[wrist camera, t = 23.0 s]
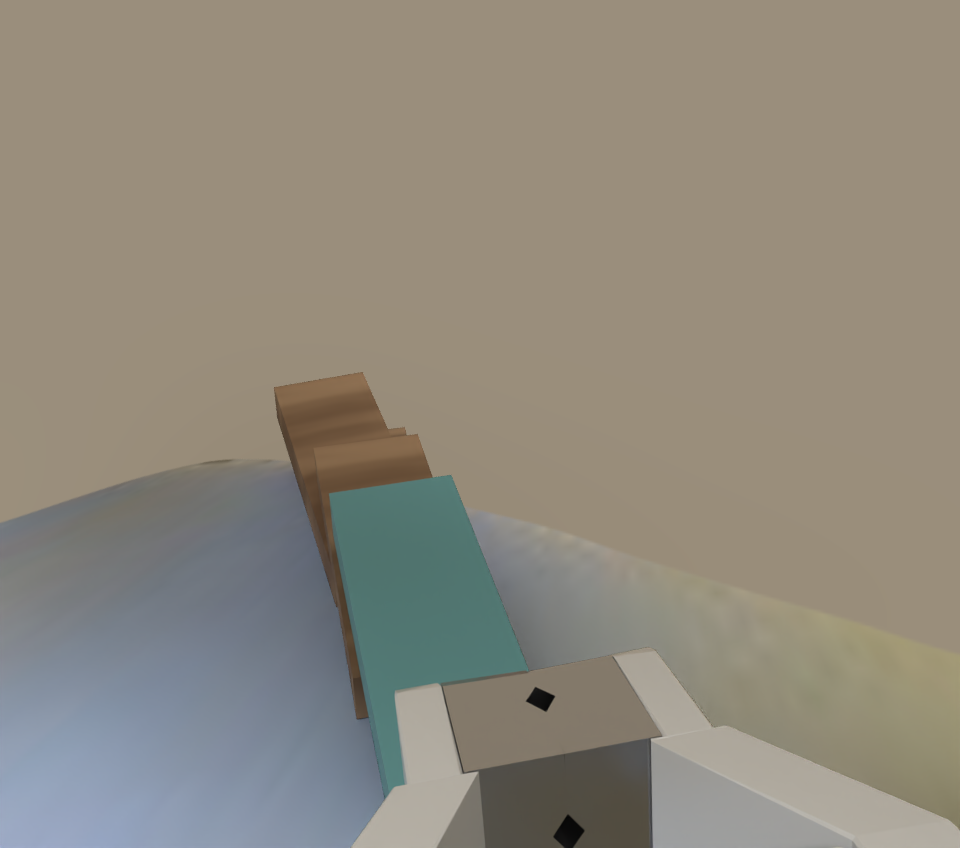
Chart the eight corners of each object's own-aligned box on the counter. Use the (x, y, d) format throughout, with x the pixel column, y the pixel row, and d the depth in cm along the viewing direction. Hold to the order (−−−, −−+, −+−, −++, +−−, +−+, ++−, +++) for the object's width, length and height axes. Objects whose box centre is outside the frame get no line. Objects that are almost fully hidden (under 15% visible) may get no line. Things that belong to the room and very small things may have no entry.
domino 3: (567, 765, 21) (451, 474, 30) (392, 808, 20) (329, 493, 29) (560, 810, 22) (451, 516, 31) (395, 853, 21) (333, 535, 30)
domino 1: (441, 549, 34) (362, 371, 42) (334, 576, 32) (273, 387, 40) (439, 580, 35) (363, 402, 43) (336, 607, 34) (277, 418, 42)
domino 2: (493, 651, 26) (417, 434, 36) (352, 678, 25) (313, 447, 35) (490, 691, 27) (418, 471, 37) (356, 719, 26) (317, 485, 36)
